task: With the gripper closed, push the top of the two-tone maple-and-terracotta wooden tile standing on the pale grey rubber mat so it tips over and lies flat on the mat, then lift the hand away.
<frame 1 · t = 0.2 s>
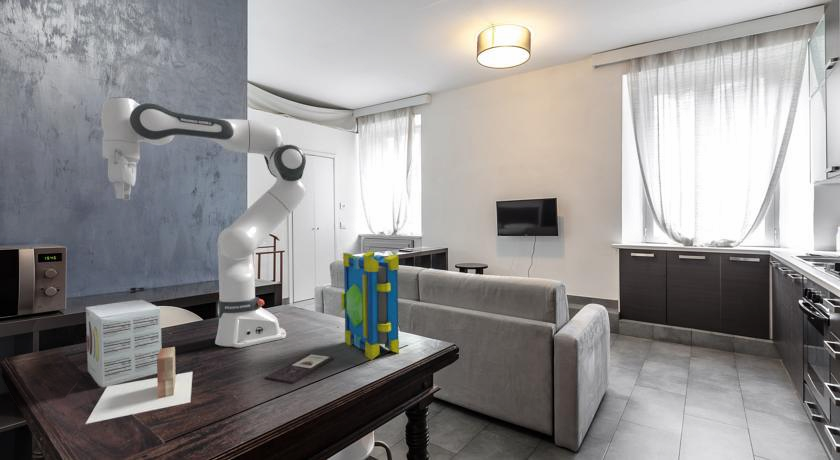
hand: (123, 199, 116), 48 cm above the table, tool pointing down, fingers open, 8 cm apart
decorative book: (370, 348, 123), on the table
chocolate bar: (301, 370, 106), on the table
mat: (146, 396, 90), on the table
supplement box: (124, 374, 104), on the table
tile: (167, 390, 92), point 1 cm above the table, touching mat
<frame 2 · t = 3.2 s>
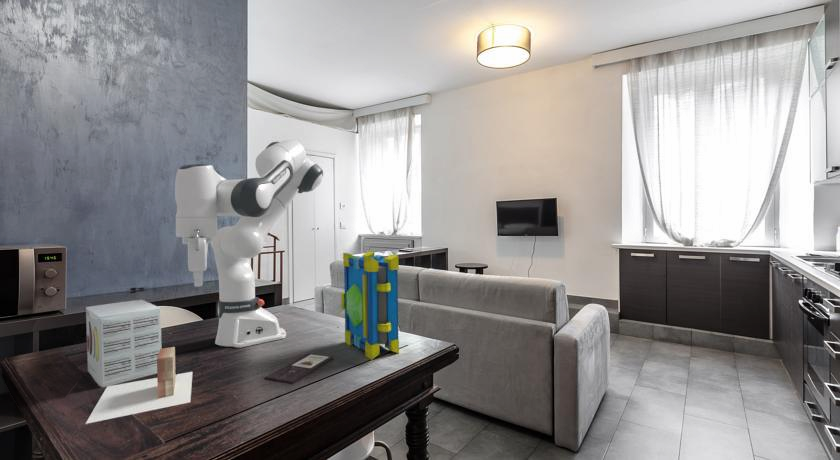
hand: (198, 285, 95), 25 cm above the table, tool pointing down, fingers closed
nothing on the table moved.
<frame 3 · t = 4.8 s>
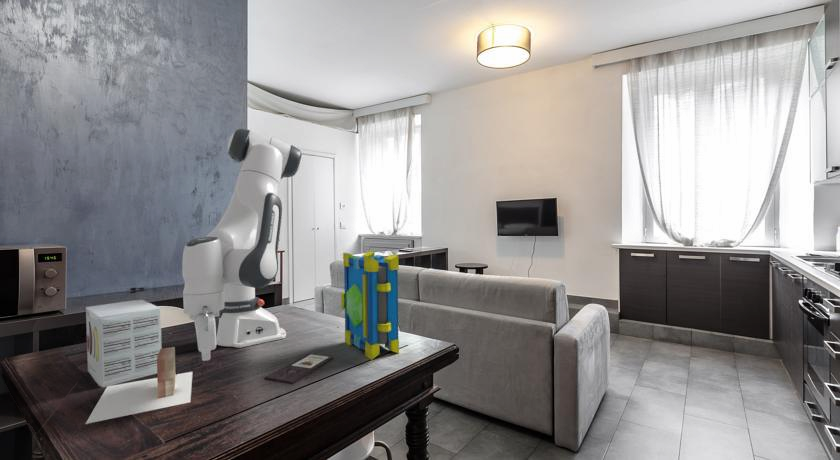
hand: (206, 358, 95), 7 cm above the table, tool pointing down, fingers closed
nothing on the table moved.
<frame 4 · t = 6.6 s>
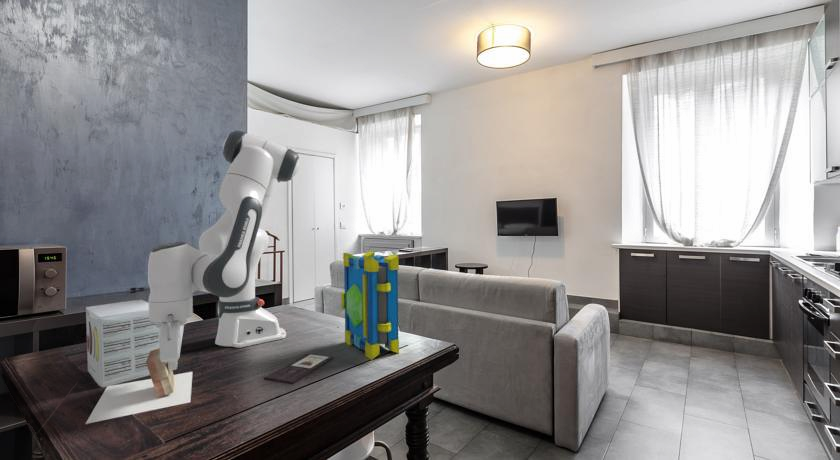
hand: (172, 368, 92), 6 cm above the table, tool pointing down, fingers closed
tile: (167, 388, 92), point 1 cm above the table, tilted 13°, touching gripper, mat
everything else where it was.
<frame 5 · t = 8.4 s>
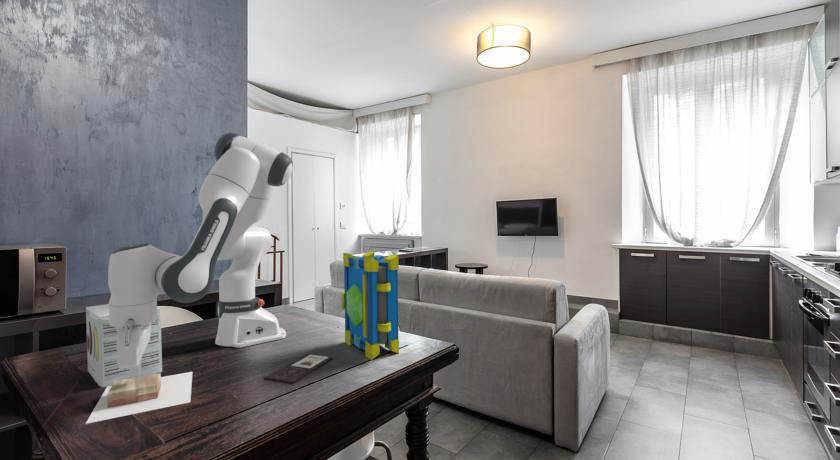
hand: (135, 374, 89), 6 cm above the table, tool pointing down, fingers closed
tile: (159, 385, 91), point 2 cm above the table, tilted 90°, touching mat
everything else where it was.
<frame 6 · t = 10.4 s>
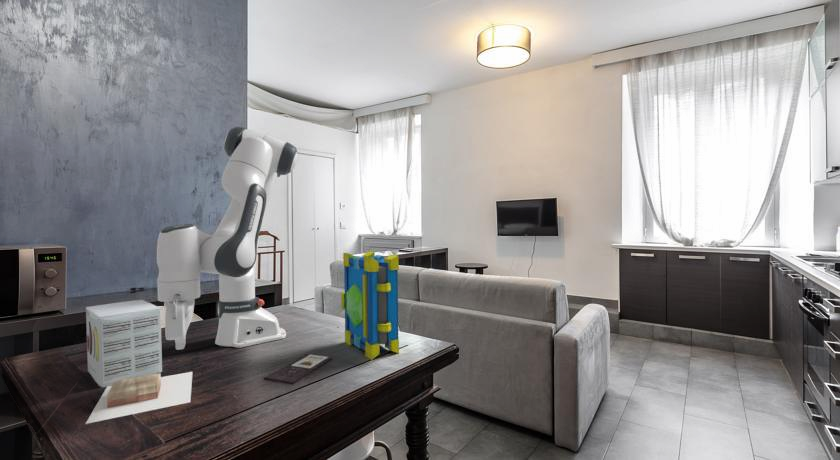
hand: (180, 347, 94), 10 cm above the table, tool pointing down, fingers closed
nothing on the table moved.
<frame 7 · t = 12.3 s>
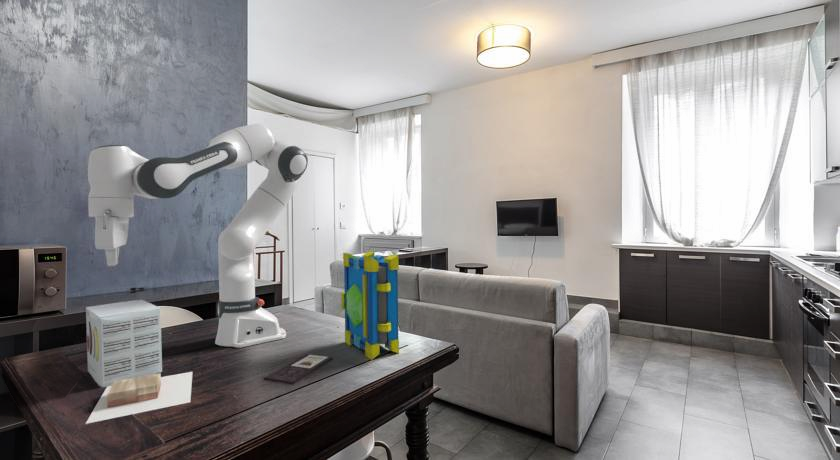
hand: (112, 265, 97), 30 cm above the table, tool pointing down, fingers closed
nothing on the table moved.
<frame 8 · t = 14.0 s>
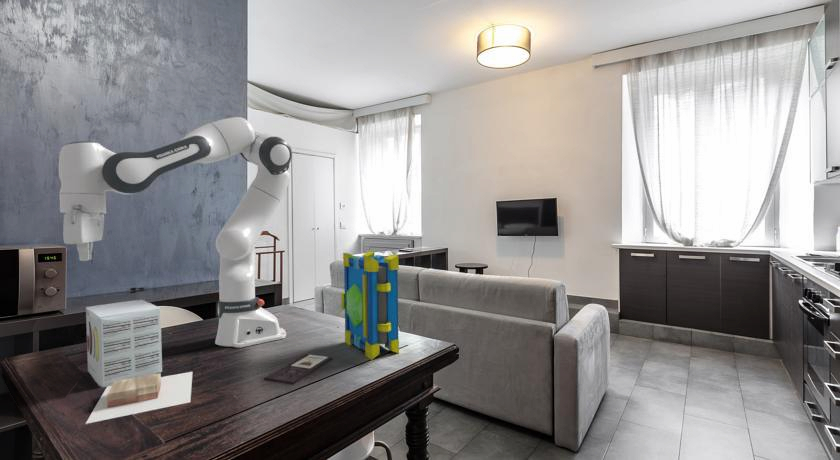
hand: (85, 260, 98), 31 cm above the table, tool pointing down, fingers closed
nothing on the table moved.
at the end: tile tilted 90°; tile inside the target area on the mat (2.4 cm from its centre), point 2.1 cm above the mat's base; the gripper is holding nothing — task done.
